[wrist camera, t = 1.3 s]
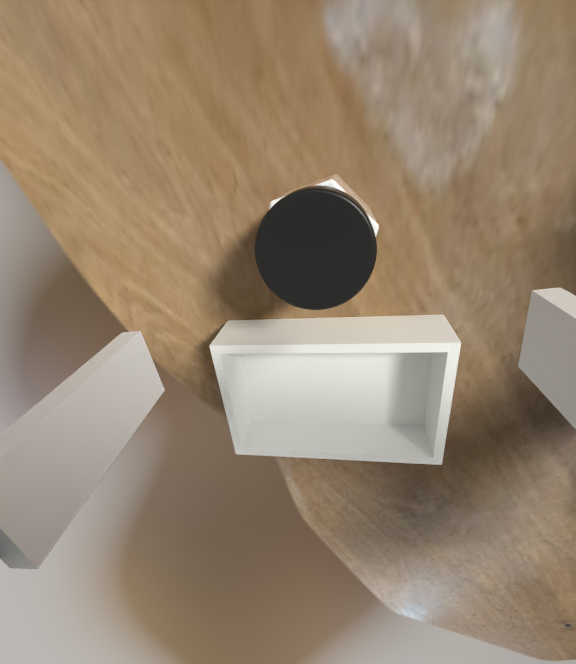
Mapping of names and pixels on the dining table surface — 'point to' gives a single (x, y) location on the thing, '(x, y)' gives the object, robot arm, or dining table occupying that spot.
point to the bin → (339, 386)
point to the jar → (317, 244)
